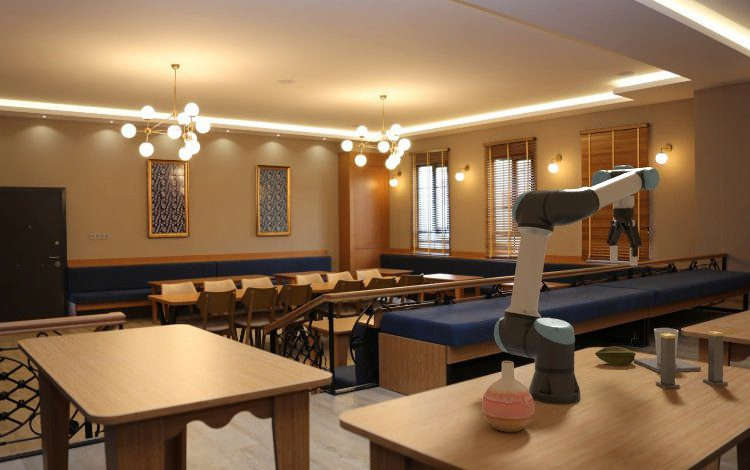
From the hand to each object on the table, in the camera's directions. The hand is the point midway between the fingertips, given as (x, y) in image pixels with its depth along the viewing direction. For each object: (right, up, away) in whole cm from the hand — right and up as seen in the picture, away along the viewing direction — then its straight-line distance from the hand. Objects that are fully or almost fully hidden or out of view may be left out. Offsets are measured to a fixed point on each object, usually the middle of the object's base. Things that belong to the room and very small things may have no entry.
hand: (623, 264), depth 235 cm
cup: (+13, -36, -7) cm, 39 cm away
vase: (-58, -40, -71) cm, 100 cm away
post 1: (+1, -38, -33) cm, 50 cm away
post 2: (+18, -38, -30) cm, 52 cm away
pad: (+13, -37, -7) cm, 40 cm away
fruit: (-4, -37, -3) cm, 37 cm away
